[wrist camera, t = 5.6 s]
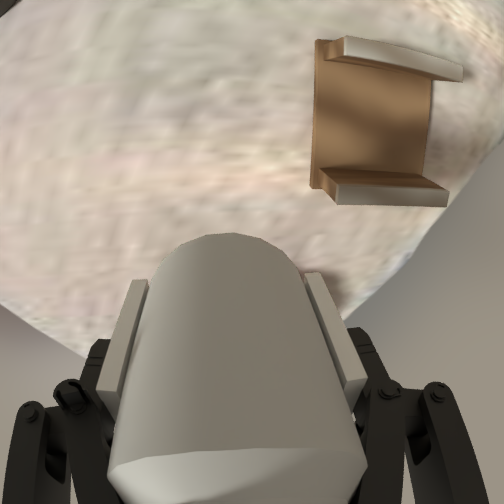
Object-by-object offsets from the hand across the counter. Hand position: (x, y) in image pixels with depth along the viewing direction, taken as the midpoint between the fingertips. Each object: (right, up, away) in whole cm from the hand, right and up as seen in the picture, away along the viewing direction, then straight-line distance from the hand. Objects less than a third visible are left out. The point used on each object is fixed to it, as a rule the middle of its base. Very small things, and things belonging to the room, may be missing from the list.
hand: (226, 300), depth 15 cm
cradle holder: (+13, +15, +12) cm, 23 cm away
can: (0, 0, +1) cm, 1 cm away
